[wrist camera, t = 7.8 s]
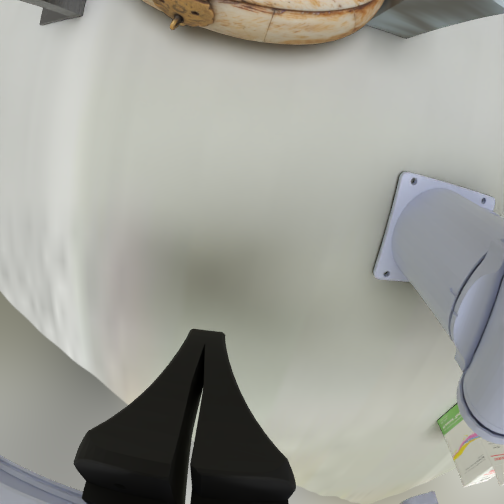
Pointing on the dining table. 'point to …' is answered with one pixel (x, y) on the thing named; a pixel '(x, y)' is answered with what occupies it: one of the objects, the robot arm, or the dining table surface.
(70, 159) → the dining table surface
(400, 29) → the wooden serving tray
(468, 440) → the ink box
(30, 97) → the dining table surface
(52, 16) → the bookend
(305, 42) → the trinket box
